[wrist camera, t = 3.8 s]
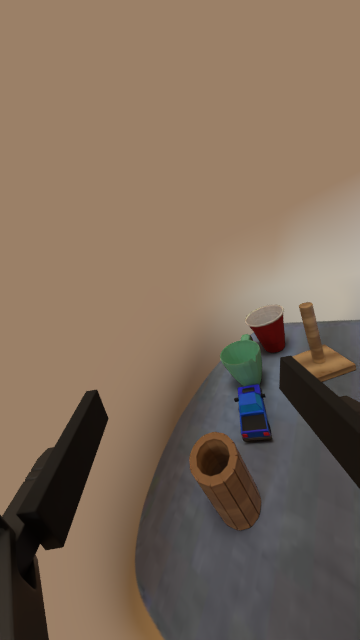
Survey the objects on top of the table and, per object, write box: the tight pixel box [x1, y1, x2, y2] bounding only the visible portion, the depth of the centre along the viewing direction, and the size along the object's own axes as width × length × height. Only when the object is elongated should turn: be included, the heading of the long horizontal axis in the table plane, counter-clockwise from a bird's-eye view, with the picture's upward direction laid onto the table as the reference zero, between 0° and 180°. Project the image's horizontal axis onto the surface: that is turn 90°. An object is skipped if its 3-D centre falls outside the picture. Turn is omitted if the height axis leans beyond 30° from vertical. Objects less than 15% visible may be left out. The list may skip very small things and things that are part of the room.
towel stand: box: [293, 302, 356, 382], centre depth 43 cm, size 9×9×16 cm
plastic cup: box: [245, 305, 285, 353], centre depth 56 cm, size 11×11×12 cm
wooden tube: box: [189, 432, 261, 531], centre depth 28 cm, size 7×7×11 cm
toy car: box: [234, 384, 272, 441], centre depth 41 cm, size 7×12×5 cm, turn 167°
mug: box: [220, 334, 262, 387], centre depth 50 cm, size 15×10×10 cm
